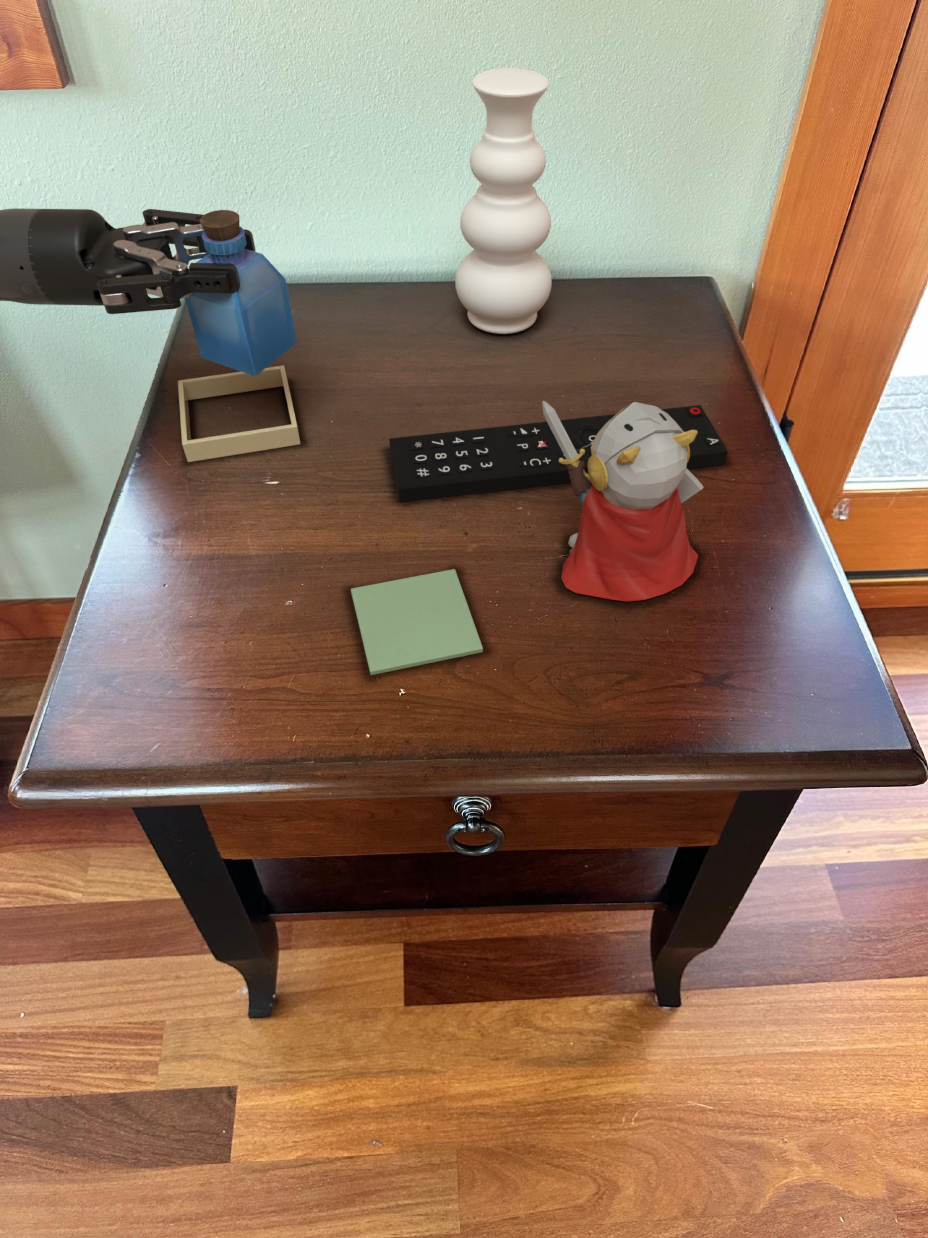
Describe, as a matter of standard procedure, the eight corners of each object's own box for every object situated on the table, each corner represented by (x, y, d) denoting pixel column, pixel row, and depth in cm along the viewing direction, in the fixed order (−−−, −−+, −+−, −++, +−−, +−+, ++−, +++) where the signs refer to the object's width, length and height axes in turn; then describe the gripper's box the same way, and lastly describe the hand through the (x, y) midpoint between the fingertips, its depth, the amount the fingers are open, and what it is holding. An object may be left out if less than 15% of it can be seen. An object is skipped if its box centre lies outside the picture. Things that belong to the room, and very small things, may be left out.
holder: (187, 462, 81) (181, 444, 79) (183, 398, 88) (177, 380, 86) (300, 444, 83) (297, 426, 81) (287, 382, 90) (284, 364, 88)
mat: (370, 675, 64) (370, 671, 64) (351, 592, 70) (350, 588, 70) (483, 652, 66) (483, 648, 65) (455, 572, 71) (454, 568, 71)
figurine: (671, 502, 77) (706, 358, 66) (714, 592, 70) (763, 448, 58) (532, 518, 76) (544, 373, 64) (562, 611, 68) (581, 467, 57)
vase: (437, 314, 99) (430, 72, 80) (509, 287, 103) (519, 51, 84) (493, 355, 93) (501, 105, 74) (567, 324, 97) (592, 80, 78)
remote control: (727, 464, 81) (732, 447, 79) (399, 502, 77) (398, 485, 76) (699, 417, 86) (703, 400, 84) (390, 451, 82) (388, 434, 81)
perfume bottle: (201, 357, 76) (164, 225, 67) (244, 325, 80) (215, 195, 70) (255, 376, 74) (224, 242, 65) (296, 342, 78) (273, 211, 68)
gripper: (-5, 255, 63) (215, 258, 63) (62, 175, 73) (254, 177, 72) (34, 343, 69) (236, 347, 69) (92, 259, 78) (270, 262, 78)
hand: (244, 260), depth 70 cm, fingers closed on perfume bottle, 5 cm apart
